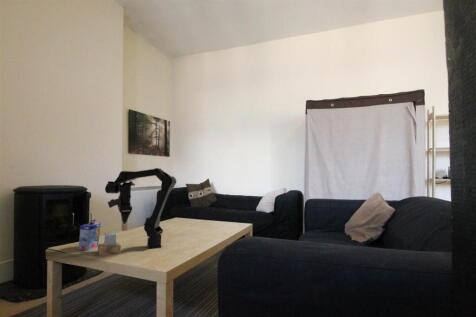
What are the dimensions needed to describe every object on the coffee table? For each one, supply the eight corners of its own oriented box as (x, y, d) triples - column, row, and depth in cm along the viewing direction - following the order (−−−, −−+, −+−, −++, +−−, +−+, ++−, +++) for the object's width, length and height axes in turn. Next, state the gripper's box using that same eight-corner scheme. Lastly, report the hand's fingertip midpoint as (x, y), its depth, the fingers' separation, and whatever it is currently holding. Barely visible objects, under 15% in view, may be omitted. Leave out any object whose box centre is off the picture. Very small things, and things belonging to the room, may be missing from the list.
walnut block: (117, 249, 133) (117, 241, 134) (120, 253, 126) (120, 245, 126) (97, 252, 128) (98, 244, 129) (99, 256, 121) (100, 248, 121)
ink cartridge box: (88, 250, 130) (90, 221, 131) (77, 250, 130) (79, 221, 132) (99, 245, 140) (101, 218, 141) (89, 245, 140) (91, 218, 141)
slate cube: (115, 242, 131) (115, 232, 132) (115, 245, 127) (116, 234, 127) (104, 243, 129) (104, 233, 129) (104, 246, 124) (104, 235, 125)
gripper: (108, 193, 147) (107, 220, 145) (109, 195, 130) (107, 226, 129) (129, 192, 152) (128, 219, 151) (132, 194, 136) (131, 224, 134)
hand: (123, 222), depth 141 cm, fingers open, 9 cm apart
